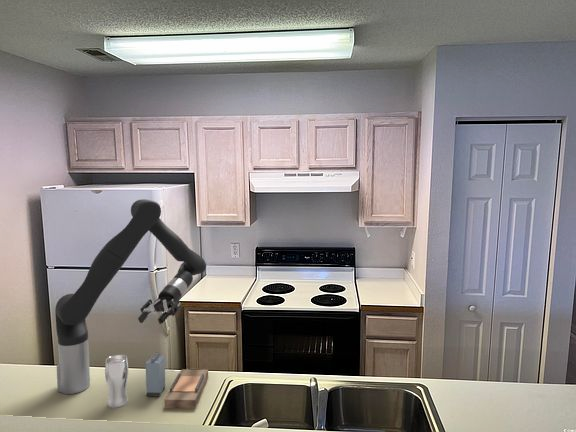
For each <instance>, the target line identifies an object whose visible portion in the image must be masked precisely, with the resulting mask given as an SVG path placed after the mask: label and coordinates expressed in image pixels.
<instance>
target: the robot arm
mask: <svg viewBox="0 0 576 432" xmlns="http://www.w3.org/2000/svg"><path fill="white" fill-rule="evenodd" d="M130 215H131V216H132V218H131V219H130V220H129V222H128V223H127V225H126V226H125V227H124V228H122V230H121V231H119V232H118V233H117V234H116V235H114V236H112V238H111V239H110V240H108V241H107V243H106V244H105V245H104V246H103V247H101V250H99V252H98V254H97V255H96V256H95V257H94V259H93V261H92V263H91V265H90V266H89V270H88V272H87V275H86V276H85V278H84V281H83V282H82V283H81V285H80V286H79V288H78V289H77V290H76V291H75V292H74V293H68V294H65V295H63V296H61V297H60V298H59V299H58V301H57V302H56V304H55V308H54V310H55V311H54V312H55V313H54V314H55V315H54V316H55V327H56V329H55V330H56V336H57V346H58V364H57V365H56V385H57V392H60V393H62V394H64V395H73V394H77V393H80V392H83V391H85V390H87V389H88V388H89V387H90V386H91V378H90V377H91V375H90V372H91V371H90V370H91V369H90V350H89V349H90V347H89V331H88V327H87V322H86V319H87V317H88V315H90V313H91V311H92V309H93V307H94V306H95V304H96V303H97V301H98V300H99V298H100V296H101V294H102V293H103V292H104V290H105V289H106V288H107V286H108V285H109V284H110V283H111V282H112V280H113V279H114V277H115V276H116V275H117V274H118V272H119V271H120V270H121V269H122V267H123V266H124V264H125V263H126V262H127V260H129V257H130V256H131V255H132V253H133V252H134V250H135V248H136V247H137V245H138V244H139V243H140V241H141V240H142V239H143V237H144V236H145V235H146V234H147V233H148V232H149V233H151V234H152V235H153V236H154V237H155V238H156V239H157V241H159V243H161V245H162V246H163V248H165V249H166V251H167V252H168V253H169V254H170V255H171V256H172V257H173V259H175V260H176V261H177V262H182V263H181V264H180V265H179V268H178V270H177V272H176V274H175V275H174V276H173V277H172V279H171V280H170V281H168V283H167V284H166V285H165V286H164V287H163V289H162V290H161V291H160V292H159V294H158V296H157V299H155V301H154V300H153V299H148V300H147V301H146V302H145V303H144V305H142V306H141V308H140V310H139V311H140V312H141V313H140V315H139V317H138V318H137V320H138V322H139V323H140V324H143V322H144V321H145V320H146V319H147V318H148V317H149V316H150V315H151V314H153V315H154V314H156V313H159V312H161V315H159V317H158V318H157V321H158V324H159V325H162V324H163V323H165V322H166V320H167V319H168V318H169V317H171V316H172V317H174V316H176V314H177V313H178V312H179V310H180V308H181V307H182V303H181V302H180V300H181V299H182V297H183V296H185V293H186V291H187V290H188V289H189V287H190V286H191V284H192V283H193V282H194V276H196V275H201V274H203V273H204V272H205V271H206V269H207V263H206V261H205V259H204V258H203V257H202V256H201V255H200V254H198V253H196V252H195V251H194V250H192V249H191V248H189V246H188V245H187V244H186V243H185V242H184V240H183V239H182V238H180V236H179V235H177V233H176V232H174V231H173V230H172V229H171V228H170V227H169V226H167V225H166V224H165V223H164V221H163V220H162V219H161V218H160V217H161V215H162V207H161V205H160V204H159V203H158V202H157V201H155V200H152V199H151V200H150V199H145V198H144V199H143V198H142V199H141V198H140V199H137V200H136V201H134V202H133V203H132V205H131V207H130Z"/></svg>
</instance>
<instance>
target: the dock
mask: <svg viewBox="0 0 576 432" xmlns="http://www.w3.org/2000/svg"><path fill="white" fill-rule="evenodd" d="M179 371H180V372H179V373H177V375H176V376H175V378H174V380H173V382H172V384H171V386H170V387H169V391H168V392H167V394H166V396H165V397H164V409H179V410H180V409H185V410H186V409H193V410H195V409H196V408H197V406H198V404H199V401H200V399H201V396H202V394H203V391H204V389H205V386H206V384H207V382H208V379H209V369H188V368H187V369H186V368H185V369H183V368H182V369H180V370H179Z"/></svg>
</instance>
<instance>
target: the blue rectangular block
mask: <svg viewBox="0 0 576 432" xmlns="http://www.w3.org/2000/svg"><path fill="white" fill-rule="evenodd" d="M160 354H161V353H160V352H155V353H154V354H151V356H150V357H149V358H148V359H147V361H146V362H145V385H146V386H145V389H146V393H145V394H146V395H145V396H147V397H161V395H162V391H163V390H165V389H166V361H165V360H166V358H165V357H166V356H165V355H164V354H163V355H162V354H161V355H160Z"/></svg>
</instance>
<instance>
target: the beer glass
mask: <svg viewBox="0 0 576 432" xmlns="http://www.w3.org/2000/svg"><path fill="white" fill-rule="evenodd" d="M104 365H105V366H104V367H105V369H104V374H105V376H104V377H105V382H106V387H107V392H108V399H107V406H108V407H110V408H113V409H114V408H120V407H122V406H125V405H126V404H127V403H128V400H129V399H128V395H127V385H128V377H129V362H128V356H127V355H125V354H115V355H111V356H109V357H107V358H106V359H105V364H104Z"/></svg>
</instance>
